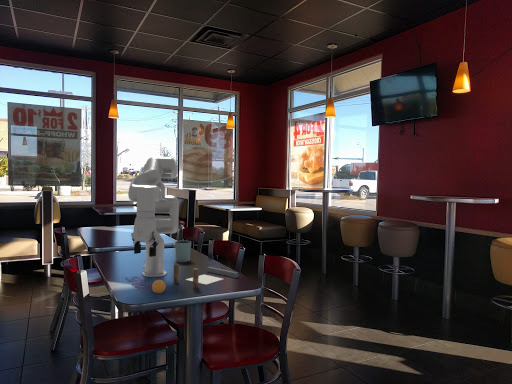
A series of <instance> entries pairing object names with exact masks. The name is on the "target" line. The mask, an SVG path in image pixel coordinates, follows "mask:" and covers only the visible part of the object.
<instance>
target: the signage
mask: <svg viewBox="0 0 512 384" xmlns="http://www.w3.org/2000/svg"><path fill="white" fill-rule="evenodd" d="M124 280H126V281H128V282H129V283H131V286H132V287H134V288H136V289H137V290H138V291H139V292H141V293H146V292H154V291H153V290H152V284H150V283H147V282H146V281H148V278H142V277H140V276H136V275H135V276H132V277H130V278H129V277H124ZM133 282H134V283H133Z"/></svg>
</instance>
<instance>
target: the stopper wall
mask: <svg viewBox="0 0 512 384" xmlns="http://www.w3.org/2000/svg"><path fill="white" fill-rule="evenodd" d="M206 272H207V273H211V274H216V275H219V274H220V276H224V275H225V276H224V277H230V278H235V279H236V278H239V272H237V271H231V270H226V269H222V268H219V267H218V268H216V267H212V266H208V267H206Z"/></svg>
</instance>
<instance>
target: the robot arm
mask: <svg viewBox="0 0 512 384" xmlns="http://www.w3.org/2000/svg"><path fill="white" fill-rule="evenodd" d="M177 175H178V166H177V163H176V160H175V159H174V158H172V157H169V156H168V157H166V156H151V157H150V158H148V159H147V161H146V163H145V164H144V166H143V172H142V173H140V174H138V175H136V176H134V177H133V179H132V180H131V182H130V184H129V188H128V193H127V195H128V199H129V201H131V202H133V203H136V217H135V219H134V223H133V224H134V225H133V231H132V232H131V233H130V236H131V240H132V242H133V254H134V255H137V254H141V252H142V244H141V243H145V264H143V266H141V269H143V270H144V271H142V272H141V273H142V274H141V275H142V276H143V277H147V278H160V277H165V276H166V275H167V271H166V270H165V240H164V238H163V237H162V235H161V234H168V235H169V234H171V235H172V234H176V233H178V231H179V216H180V215H179V211H180V206H179V199H178V197H177V196H175V195H166V185H165V184H164V182H163V181H162V179H169V180H171V179H175V178H176V177H177ZM155 214H169V215H155Z"/></svg>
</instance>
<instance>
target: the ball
mask: <svg viewBox="0 0 512 384" xmlns="http://www.w3.org/2000/svg"><path fill="white" fill-rule="evenodd" d="M166 287H167V286H166V283H165V281H164V280H162V279H156V280H154V282H153V283H152V284H151V288H152V290H153V291H152V292H154V293H155V294H162V293H163V292H165V291H166Z"/></svg>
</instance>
